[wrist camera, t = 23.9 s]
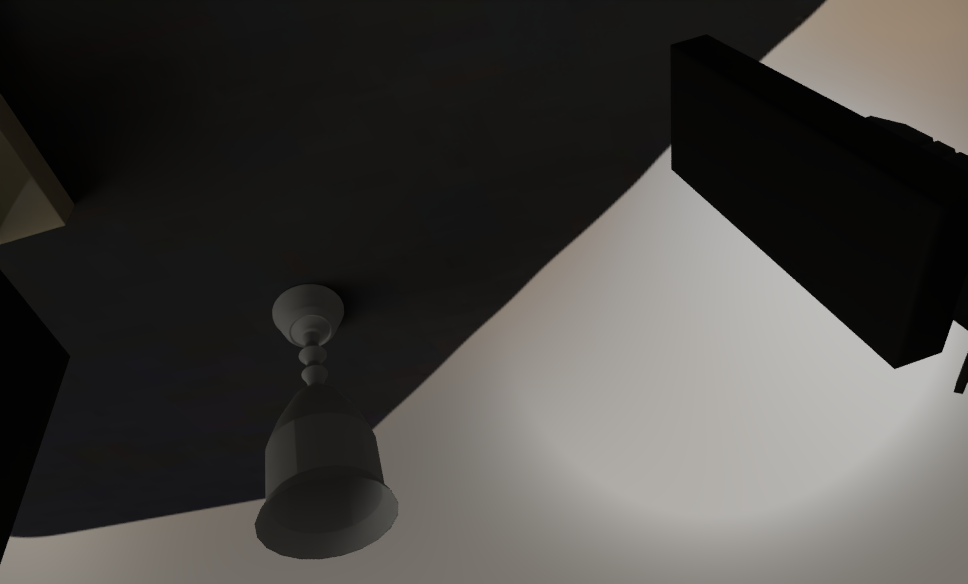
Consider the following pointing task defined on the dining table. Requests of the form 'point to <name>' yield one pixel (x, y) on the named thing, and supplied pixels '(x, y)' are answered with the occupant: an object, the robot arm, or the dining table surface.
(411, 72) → the dining table surface
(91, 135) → the dining table surface
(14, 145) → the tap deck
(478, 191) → the dining table surface
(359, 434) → the chalice
